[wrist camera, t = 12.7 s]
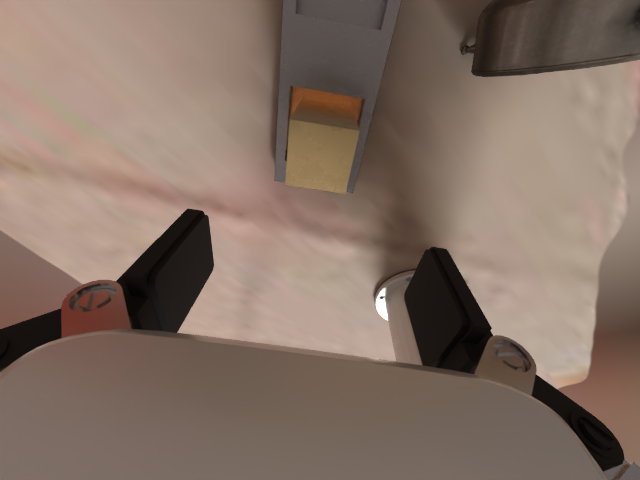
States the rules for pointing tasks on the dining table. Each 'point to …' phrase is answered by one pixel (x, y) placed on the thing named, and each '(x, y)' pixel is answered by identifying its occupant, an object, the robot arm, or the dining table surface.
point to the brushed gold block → (321, 146)
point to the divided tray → (332, 63)
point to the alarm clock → (554, 36)
